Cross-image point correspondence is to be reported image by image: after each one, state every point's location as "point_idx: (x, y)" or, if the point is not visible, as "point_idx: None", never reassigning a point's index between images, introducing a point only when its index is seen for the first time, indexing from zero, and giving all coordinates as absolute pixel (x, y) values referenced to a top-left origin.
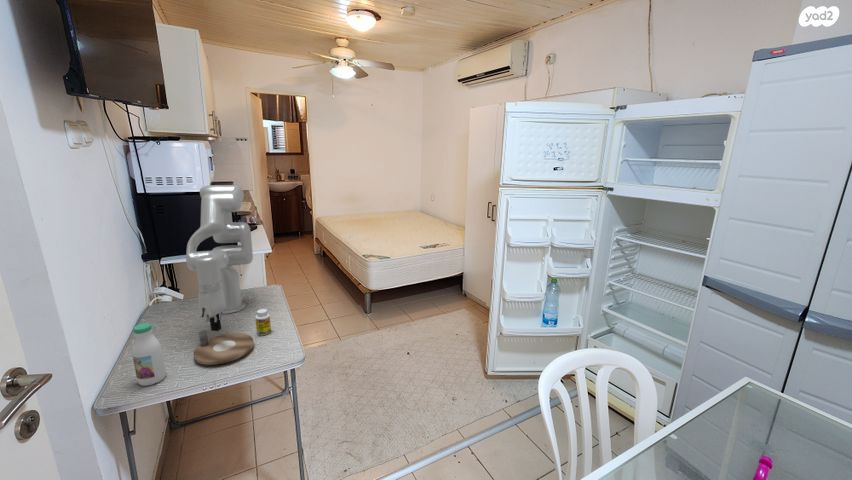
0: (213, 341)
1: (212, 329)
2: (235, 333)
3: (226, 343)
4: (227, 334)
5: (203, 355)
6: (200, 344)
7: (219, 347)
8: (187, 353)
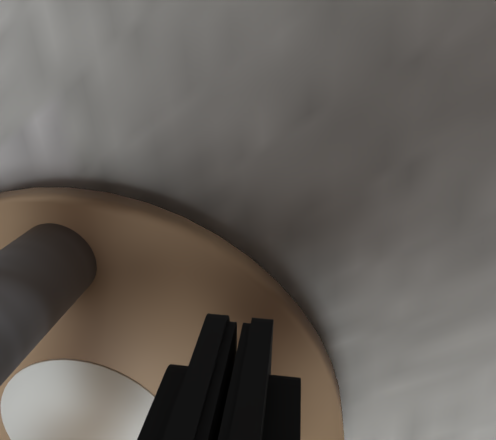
0: (142, 311)
1: (172, 367)
2: (334, 438)
3: (129, 435)
4: (309, 377)
5: None
6: (13, 241)
7: (56, 409)
8: (16, 64)
